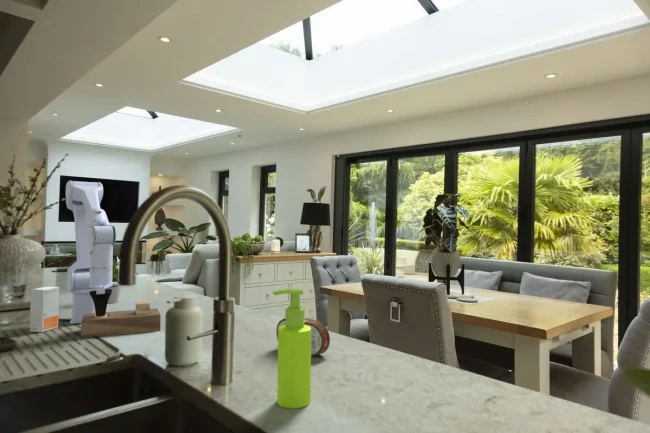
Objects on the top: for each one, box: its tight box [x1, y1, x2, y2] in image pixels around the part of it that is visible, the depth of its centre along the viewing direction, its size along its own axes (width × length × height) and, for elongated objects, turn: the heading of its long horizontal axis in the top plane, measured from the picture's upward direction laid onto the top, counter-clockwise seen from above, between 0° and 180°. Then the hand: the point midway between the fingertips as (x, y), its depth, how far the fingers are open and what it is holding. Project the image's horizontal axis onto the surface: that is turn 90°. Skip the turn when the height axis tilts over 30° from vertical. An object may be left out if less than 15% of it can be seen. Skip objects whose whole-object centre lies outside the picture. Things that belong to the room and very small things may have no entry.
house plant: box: [106, 259, 122, 304], centre depth 170 cm, size 14×14×16 cm
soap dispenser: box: [272, 288, 312, 409], centre depth 79 cm, size 6×7×20 cm
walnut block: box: [80, 308, 162, 339], centre depth 128 cm, size 10×20×4 cm, turn 116°
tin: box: [275, 317, 331, 357], centre depth 108 cm, size 15×3×8 cm, turn 55°
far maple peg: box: [135, 300, 151, 315], centre depth 130 cm, size 4×4×4 cm
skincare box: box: [29, 286, 60, 333], centre depth 127 cm, size 6×4×12 cm
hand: (100, 315), depth 125 cm, fingers closed
